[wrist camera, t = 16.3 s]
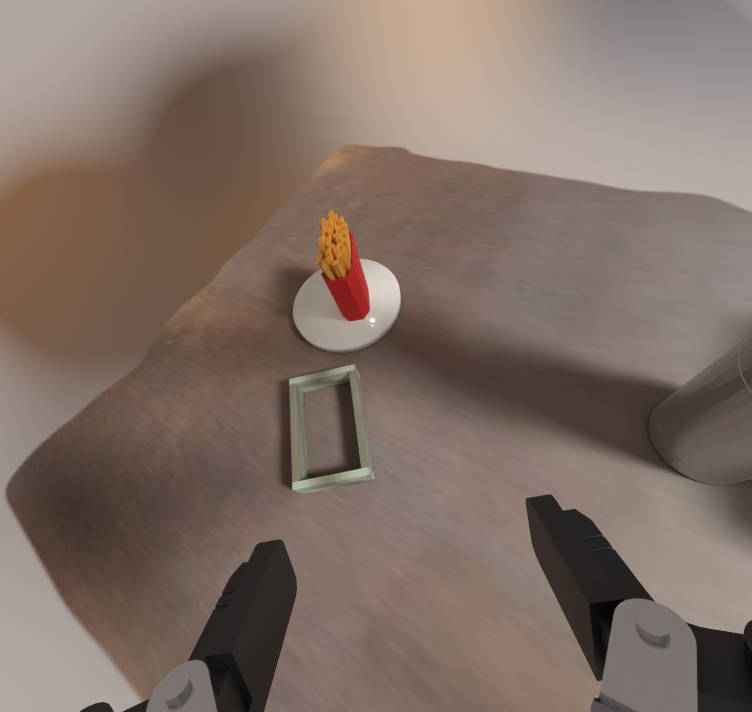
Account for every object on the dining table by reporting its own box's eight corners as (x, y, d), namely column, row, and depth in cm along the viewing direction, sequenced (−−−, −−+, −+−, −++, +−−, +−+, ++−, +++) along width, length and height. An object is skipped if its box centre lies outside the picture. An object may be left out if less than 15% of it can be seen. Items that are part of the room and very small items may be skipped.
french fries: (340, 281, 54) (310, 209, 43) (368, 275, 54) (345, 202, 42) (342, 331, 50) (309, 266, 38) (372, 326, 49) (347, 258, 38)
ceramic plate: (391, 254, 57) (389, 247, 56) (411, 338, 49) (410, 332, 47) (295, 279, 58) (291, 273, 57) (298, 364, 50) (294, 359, 49)
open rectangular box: (359, 374, 48) (354, 364, 45) (374, 479, 41) (369, 474, 38) (297, 388, 48) (289, 379, 46) (302, 494, 41) (292, 490, 39)
